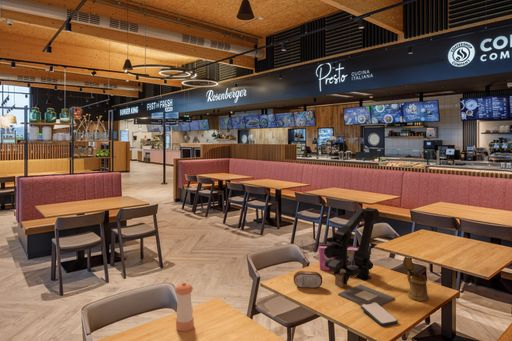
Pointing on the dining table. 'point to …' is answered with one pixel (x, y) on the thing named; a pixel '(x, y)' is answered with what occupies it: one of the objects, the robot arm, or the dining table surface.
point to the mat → (365, 295)
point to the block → (340, 280)
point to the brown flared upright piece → (416, 283)
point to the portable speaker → (307, 279)
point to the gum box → (323, 258)
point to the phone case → (379, 314)
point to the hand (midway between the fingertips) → (341, 282)
